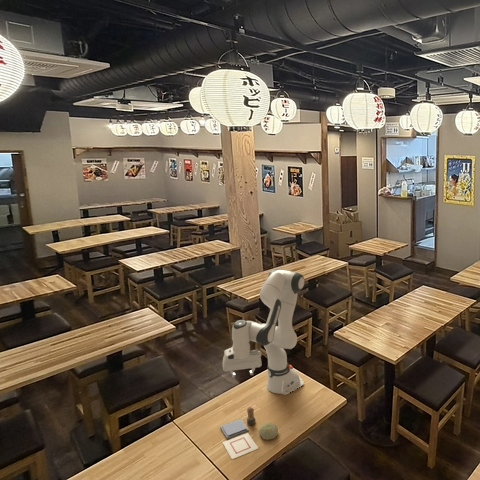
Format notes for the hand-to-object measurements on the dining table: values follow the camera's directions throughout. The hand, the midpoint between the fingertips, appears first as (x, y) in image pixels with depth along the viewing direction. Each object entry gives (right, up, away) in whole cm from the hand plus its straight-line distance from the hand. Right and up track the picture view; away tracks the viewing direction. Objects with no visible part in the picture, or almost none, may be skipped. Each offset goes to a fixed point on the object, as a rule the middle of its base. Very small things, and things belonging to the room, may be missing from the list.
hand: (242, 375), depth 209 cm
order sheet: (-1, -30, -12) cm, 33 cm away
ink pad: (-4, -28, -1) cm, 28 cm away
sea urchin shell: (+13, -28, -6) cm, 32 cm away
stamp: (+5, -26, +3) cm, 26 cm away
